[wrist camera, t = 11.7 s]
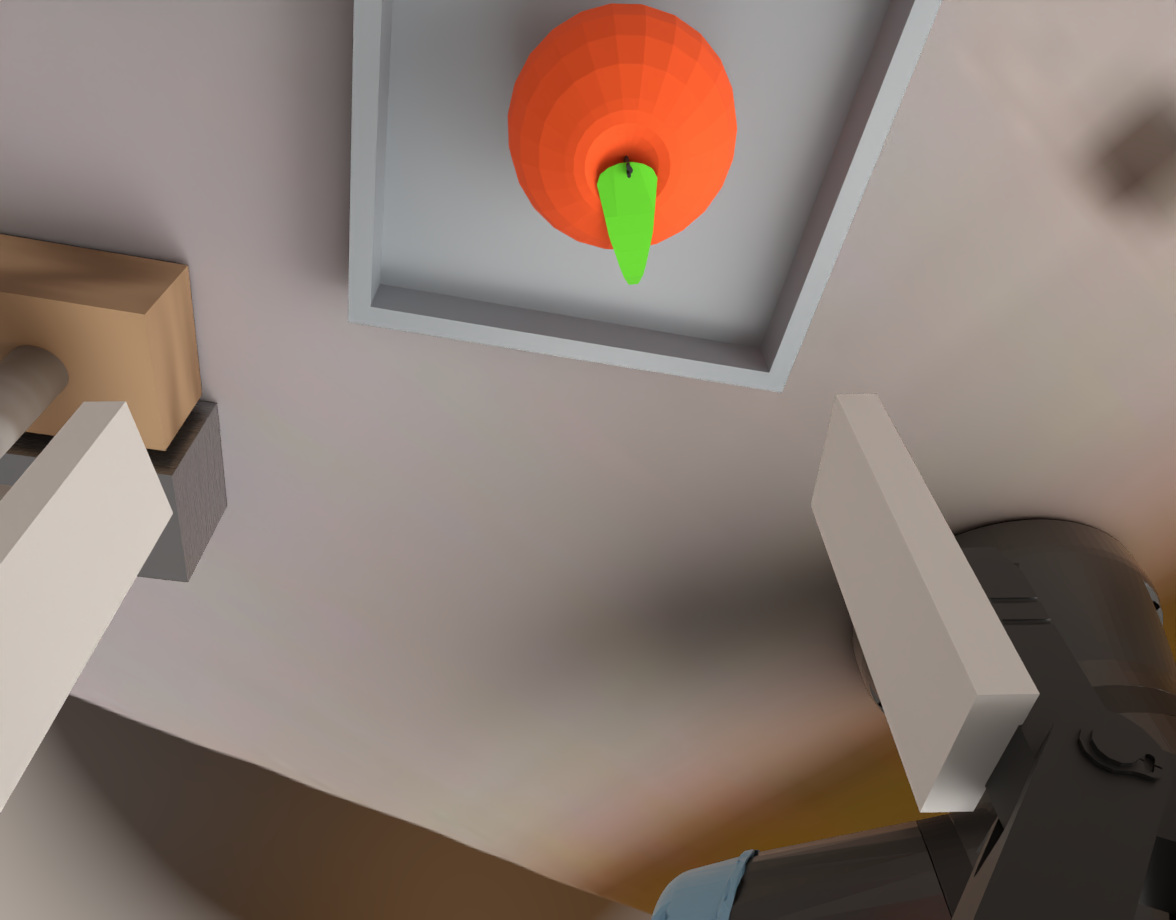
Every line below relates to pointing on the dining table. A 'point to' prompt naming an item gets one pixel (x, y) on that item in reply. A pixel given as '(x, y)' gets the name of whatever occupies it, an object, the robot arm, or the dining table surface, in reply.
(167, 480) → the frame
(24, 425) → the slider
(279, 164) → the dining table surface
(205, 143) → the dining table surface
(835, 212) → the tray
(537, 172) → the clementine
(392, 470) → the dining table surface
